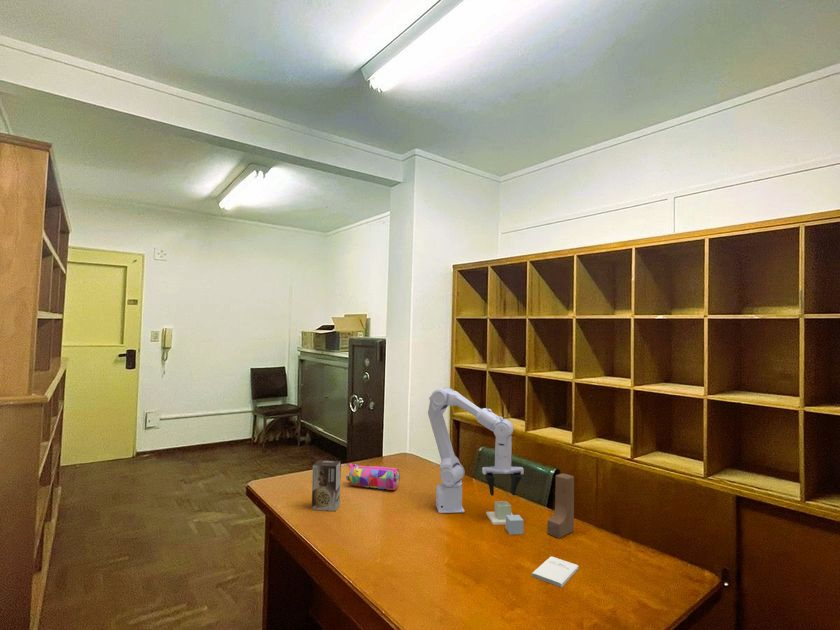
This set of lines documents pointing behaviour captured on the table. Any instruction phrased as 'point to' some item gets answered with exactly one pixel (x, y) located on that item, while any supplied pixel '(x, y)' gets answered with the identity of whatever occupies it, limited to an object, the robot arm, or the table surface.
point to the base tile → (496, 519)
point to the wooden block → (562, 507)
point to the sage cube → (502, 509)
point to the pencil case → (374, 477)
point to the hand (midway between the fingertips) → (502, 494)
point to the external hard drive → (555, 571)
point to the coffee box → (326, 485)
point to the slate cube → (514, 524)
